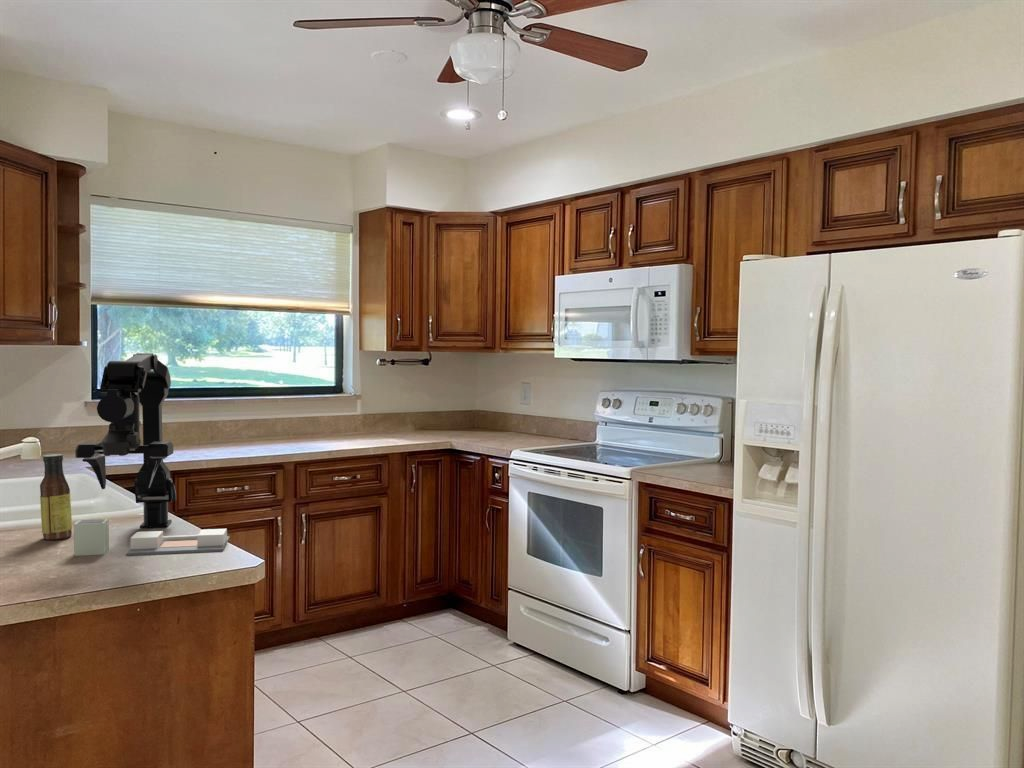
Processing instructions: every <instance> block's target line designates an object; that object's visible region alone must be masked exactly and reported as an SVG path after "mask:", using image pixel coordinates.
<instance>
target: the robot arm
mask: <svg viewBox="0 0 1024 768" xmlns="http://www.w3.org/2000/svg"><path fill="white" fill-rule="evenodd" d="M169 371H170V370H169V367H168V366H166V365H165V363H162V362H161V361H160V360H159V359H158V356H157V354H156V353H155V354H154V353H152V352H151V353H150V352H148V353H147V352H145V353H144V352H143V353H142V352H139V353H138V352H137V353H134V354H133V355H132V356H131V357H129V358H128V359H126V360H109V361H108V362H107V364H106V365H105V366H104V368H103V373H102V376H101V382H100V387H99V393H103V394H105V393H106V395H105V396H103V397H102V398H100V399H99V402H98V404H97V406H96V411H97V414H98V416H99V417H100V419H102V420H104V422H108V423H109V424H108V431H107V434H105V436H104V437H103V439H102V440H101V441H91V442H90V441H87V442H83V443H80V444H77V446H76V447H75V451H74V452H75V458H76V459H81V460H82V462H85V463H86V462H87V464H88V465H90V466H91V468H92V469H93V472H94V474H95V476H96V478H97V480H98V483H99V486H100V488H101V490H105V489H106V486H107V474H106V473H107V472H106V470H107V469H106V457H110V456H118V457H121V456H122V457H123V456H124V457H125V456H126V455H130V454H133V455H134V454H143V455H142V456H143V458H142V459H143V462H142V463H143V464H142V465H141V467H140V468H139V470H138V471H137V474H136V478H135V481H134V485H133V486H134V488H133V489H134V498H135V503H136V504H141V503H143V522H142V523H141V524H140V525H139V528H140V529H141V528H165V527H166V528H167V527H168V526H170V524H171V523H172V520H173V519H169V503H172V502H175V501H177V492H176V486H175V483H174V481H173V478H172V477H171V471H170V469H169V467H168V465H166V463H165V461H164V460H165V459H168V457H169V456H171V455H173V454H174V443H172V442H171V441H167V440H166V441H163V407H162V406H163V403H164V401H165V400H166V398H167V397H168V395H169V389H170V388H171V385H172V382H171V380H172V379H171V375H170V372H169ZM140 405H141V406H142V407H141V408H142V409H141V411H142V424H141V421H140V418H141V417H140ZM141 425H142V440H141V436H140V435H141V432H140V431H141V430H140V427H141ZM141 443H142V445H141Z"/></svg>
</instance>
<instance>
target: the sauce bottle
mask: <svg viewBox="0 0 1024 768" xmlns="http://www.w3.org/2000/svg"><path fill="white" fill-rule="evenodd" d="M42 459H43V460H42V461H43V463H44V464H43V465H44V476H43V478H42V480H41V482H40V485H39V491H40V493H39V495H40V496H39V499H40V500H39V502H40V517H41V519H40V520H41V533H42V534H43V535H42V537H43V539H44V540H46V541H47V540H49V541H56V540H57V541H58V540H63V539H67V538H70V537H71V536H72V534H73V533H72V532H73V531H72V530H73V518H72V503H71V501H72V499H71V488H70V486H69V484H68V481H67V479H66V476H65V474H64V469H63V461H64V455H63V454H60V453H52V454H46V455H43V456H42Z"/></svg>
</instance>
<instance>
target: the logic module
mask: <svg viewBox="0 0 1024 768" xmlns="http://www.w3.org/2000/svg"><path fill="white" fill-rule="evenodd" d="M109 521H110V520H109V518H104V519H101V518H100V519H79V520H77V521H76V522H74V523H73V556H77V557H79V556H95V555H96V556H98V555H99V556H100V555H106V553H107V552H108V551H109V550H110V541H109V540H110V532H109V531H110V527H109V526H110V525H109V523H110V522H109Z"/></svg>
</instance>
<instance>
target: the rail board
mask: <svg viewBox="0 0 1024 768" xmlns="http://www.w3.org/2000/svg"><path fill="white" fill-rule="evenodd" d="M229 540H230V535H228V528H207V529H206V528H205V529H201V530H200V531H199V532H198V534H185V535H184V534H182V535H180V534H179V535H164V530H158V531H157V530H155V531H154V530H153V531H152V530H151V531H137V532H135V534H132V536H131V537H130V548H129V550H127V551H126V555H125V556H141V555H142V556H146V555H148V556H149V555H163V554H164V555H166V554H167V555H168V554H170V555H171V554H186V553H187V554H189V553H191V554H192V553H193V554H194V553H210V552H211V553H213V552H223V551H225V548H226V546H227V544H228V542H229ZM226 543H227V544H226Z"/></svg>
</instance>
